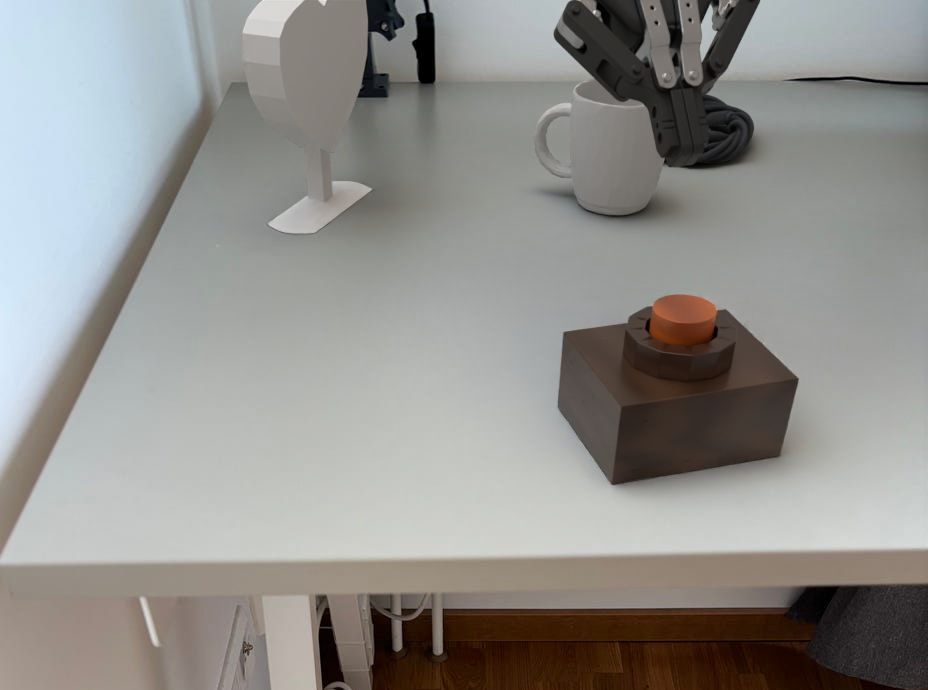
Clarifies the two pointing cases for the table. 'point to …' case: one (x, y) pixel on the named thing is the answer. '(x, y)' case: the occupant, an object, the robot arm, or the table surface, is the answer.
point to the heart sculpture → (308, 91)
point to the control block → (673, 398)
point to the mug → (604, 150)
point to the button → (683, 320)
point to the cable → (738, 126)
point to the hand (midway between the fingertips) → (687, 159)
